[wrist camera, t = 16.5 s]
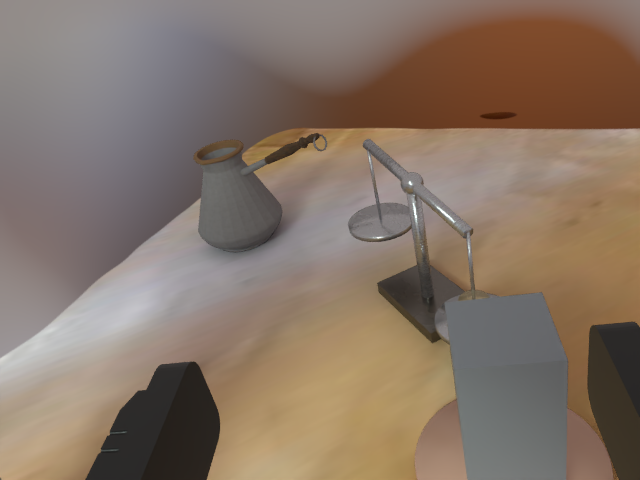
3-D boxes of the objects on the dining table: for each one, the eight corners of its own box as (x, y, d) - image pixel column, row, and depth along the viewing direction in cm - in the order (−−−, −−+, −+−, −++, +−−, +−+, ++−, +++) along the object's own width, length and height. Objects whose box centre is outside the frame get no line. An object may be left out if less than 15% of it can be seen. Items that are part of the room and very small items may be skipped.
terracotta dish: (384, 447, 44) (382, 439, 43) (519, 374, 47) (518, 365, 47) (495, 603, 33) (494, 594, 33) (659, 493, 37) (661, 483, 36)
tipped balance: (348, 268, 66) (320, 141, 58) (400, 245, 68) (379, 119, 60) (470, 386, 47) (453, 224, 39) (537, 351, 49) (533, 188, 41)
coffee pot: (188, 255, 77) (148, 153, 69) (237, 212, 85) (206, 116, 77) (324, 275, 66) (295, 156, 58) (366, 223, 74) (344, 113, 66)
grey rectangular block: (470, 501, 38) (453, 369, 32) (460, 427, 43) (444, 302, 37) (565, 497, 37) (568, 360, 31) (543, 422, 42) (542, 292, 36)
